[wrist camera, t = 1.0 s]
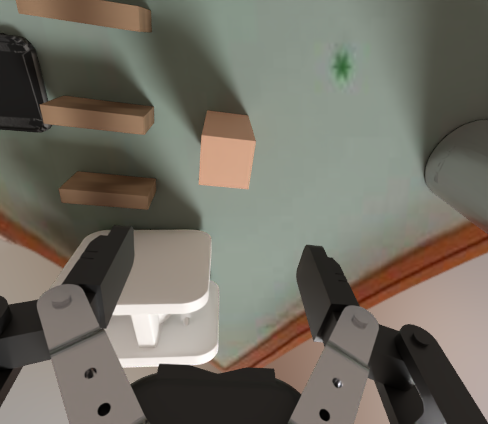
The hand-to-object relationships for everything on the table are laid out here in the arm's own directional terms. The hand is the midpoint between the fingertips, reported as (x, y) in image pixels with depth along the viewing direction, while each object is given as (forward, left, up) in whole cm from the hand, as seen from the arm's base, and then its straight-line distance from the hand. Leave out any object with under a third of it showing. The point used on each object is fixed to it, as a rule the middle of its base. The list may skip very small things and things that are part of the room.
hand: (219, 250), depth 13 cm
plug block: (0, 0, -18) cm, 18 cm away
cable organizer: (+6, +17, -18) cm, 26 cm away
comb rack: (+11, -1, -18) cm, 21 cm away
